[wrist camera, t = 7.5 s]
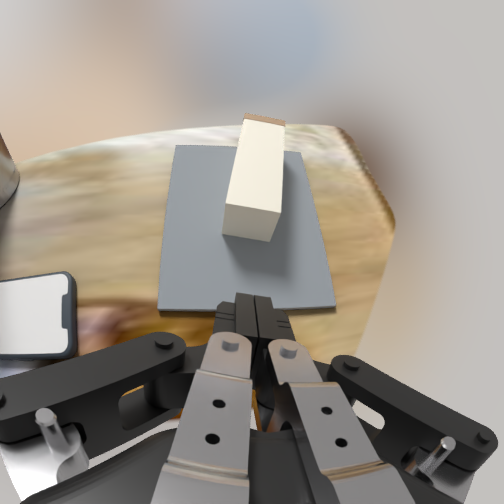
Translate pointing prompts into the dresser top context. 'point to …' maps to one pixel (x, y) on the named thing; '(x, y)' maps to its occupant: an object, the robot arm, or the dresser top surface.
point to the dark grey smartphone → (38, 317)
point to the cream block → (256, 180)
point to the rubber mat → (238, 240)
